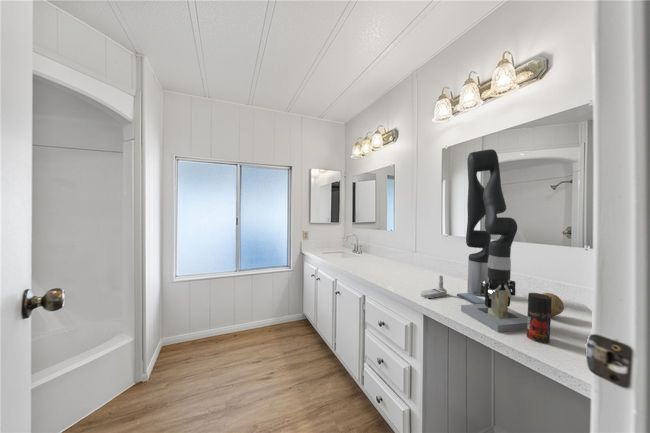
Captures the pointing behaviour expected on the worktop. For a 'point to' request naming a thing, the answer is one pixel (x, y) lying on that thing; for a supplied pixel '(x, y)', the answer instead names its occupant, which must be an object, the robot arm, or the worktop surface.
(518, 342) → the worktop surface
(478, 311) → the plate
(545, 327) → the deodorant
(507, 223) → the robot arm
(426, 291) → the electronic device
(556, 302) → the natural sponge
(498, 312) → the skincare box
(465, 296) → the plate
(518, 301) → the worktop surface
